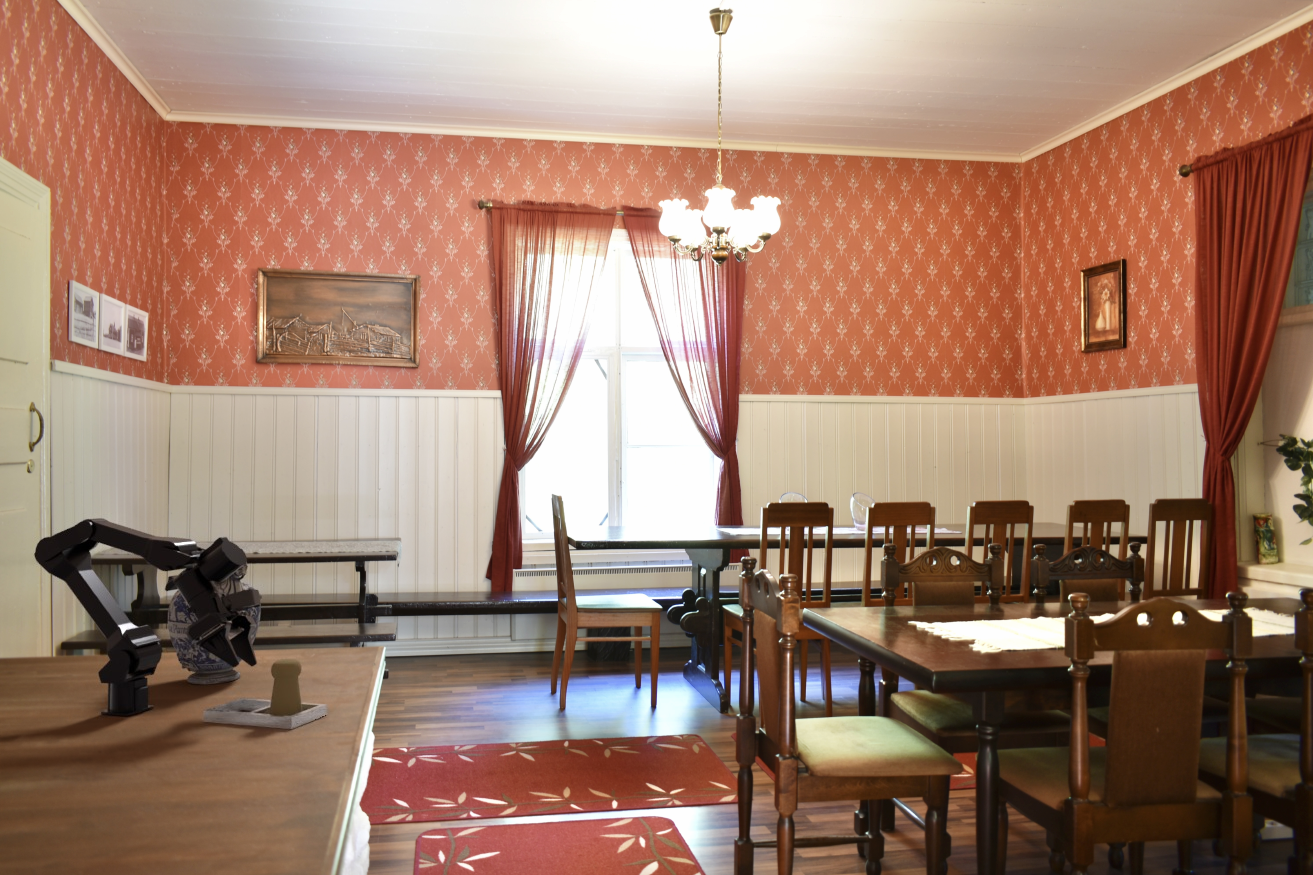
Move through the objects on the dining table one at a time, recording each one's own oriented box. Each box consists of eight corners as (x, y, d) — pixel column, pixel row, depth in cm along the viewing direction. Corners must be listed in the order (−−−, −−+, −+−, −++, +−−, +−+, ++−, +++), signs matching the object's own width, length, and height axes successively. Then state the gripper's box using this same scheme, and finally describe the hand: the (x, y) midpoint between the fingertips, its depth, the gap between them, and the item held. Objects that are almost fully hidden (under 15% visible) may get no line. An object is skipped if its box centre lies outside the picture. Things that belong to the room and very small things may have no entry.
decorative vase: (144, 681, 203) (149, 552, 204) (222, 667, 218) (226, 548, 220) (202, 693, 191) (206, 557, 193) (280, 678, 207) (284, 552, 209)
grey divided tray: (203, 721, 169) (203, 710, 169) (242, 708, 179) (242, 697, 179) (291, 729, 164) (291, 717, 164) (326, 714, 173) (326, 704, 174)
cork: (302, 722, 168) (303, 661, 169) (266, 725, 166) (267, 663, 167) (304, 714, 174) (304, 655, 174) (269, 717, 172) (269, 657, 172)
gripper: (222, 567, 167) (267, 639, 165) (257, 575, 186) (299, 640, 183) (166, 603, 165) (211, 676, 163) (207, 608, 183) (249, 674, 181)
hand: (245, 665), depth 173 cm, fingers open, 9 cm apart
